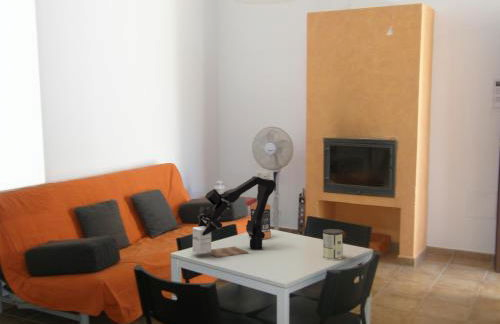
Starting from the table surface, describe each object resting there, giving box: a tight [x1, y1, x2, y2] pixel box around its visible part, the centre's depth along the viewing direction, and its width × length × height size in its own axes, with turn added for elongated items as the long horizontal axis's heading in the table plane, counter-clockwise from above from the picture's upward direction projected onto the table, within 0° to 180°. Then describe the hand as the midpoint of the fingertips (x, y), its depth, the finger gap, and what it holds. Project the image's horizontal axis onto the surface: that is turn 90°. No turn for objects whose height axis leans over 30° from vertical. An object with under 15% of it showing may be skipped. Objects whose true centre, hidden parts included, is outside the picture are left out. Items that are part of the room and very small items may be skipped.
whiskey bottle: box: [248, 185, 272, 241], centre depth 326 cm, size 10×10×32 cm
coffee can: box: [322, 228, 344, 261], centre depth 280 cm, size 10×10×14 cm
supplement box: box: [192, 226, 212, 255], centre depth 282 cm, size 7×7×13 cm
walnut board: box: [207, 245, 249, 259], centre depth 290 cm, size 19×15×1 cm
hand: (199, 233), depth 281 cm, fingers closed on supplement box, 7 cm apart
